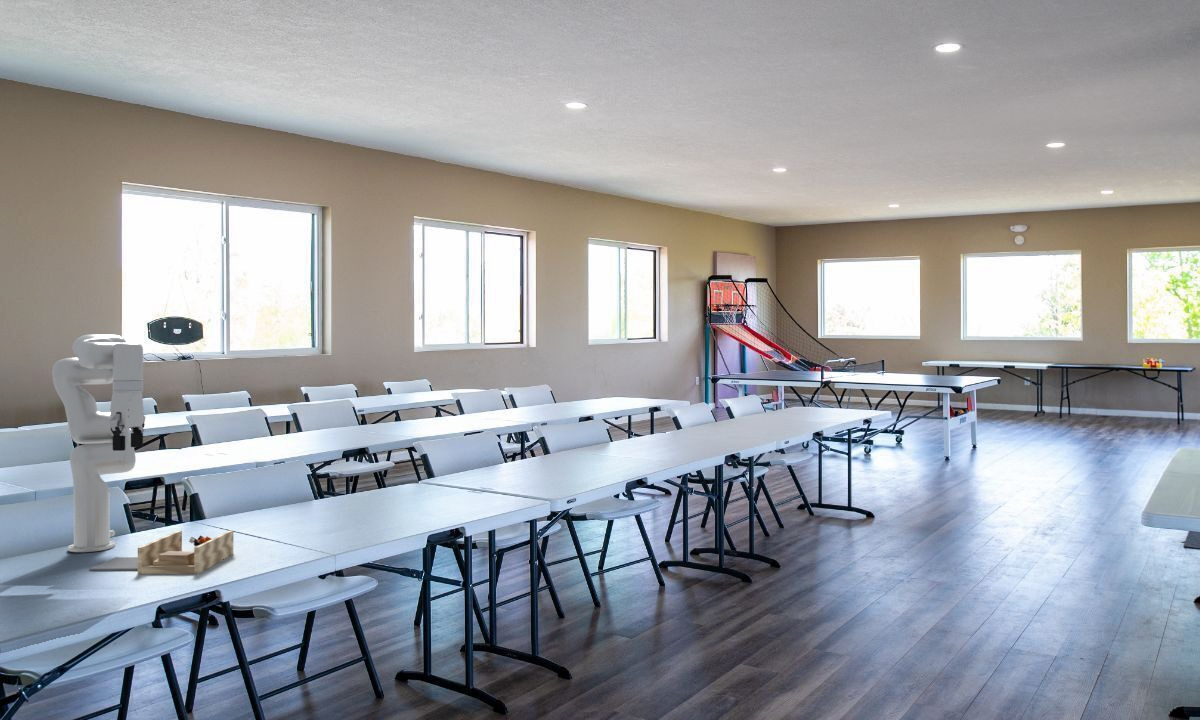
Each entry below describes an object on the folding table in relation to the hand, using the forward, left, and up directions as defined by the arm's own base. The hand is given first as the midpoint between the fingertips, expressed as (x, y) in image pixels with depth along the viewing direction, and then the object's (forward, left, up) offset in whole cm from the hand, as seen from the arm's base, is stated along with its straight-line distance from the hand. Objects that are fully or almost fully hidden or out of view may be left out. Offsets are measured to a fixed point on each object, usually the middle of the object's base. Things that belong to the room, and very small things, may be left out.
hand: (128, 448), depth 251 cm
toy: (-5, +18, -29) cm, 35 cm away
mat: (0, 0, -32) cm, 32 cm away
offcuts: (+6, +16, -32) cm, 37 cm away
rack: (-1, +16, -32) cm, 36 cm away
